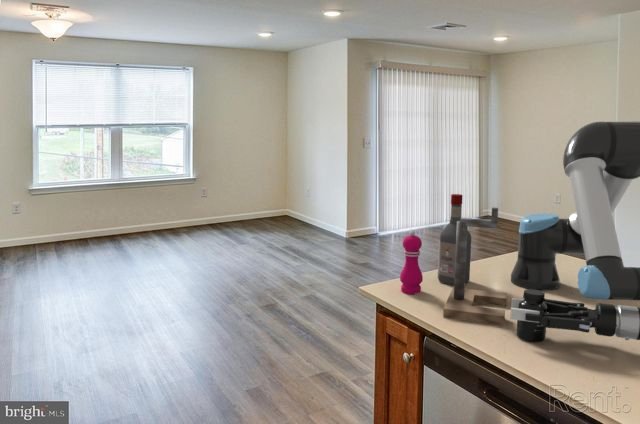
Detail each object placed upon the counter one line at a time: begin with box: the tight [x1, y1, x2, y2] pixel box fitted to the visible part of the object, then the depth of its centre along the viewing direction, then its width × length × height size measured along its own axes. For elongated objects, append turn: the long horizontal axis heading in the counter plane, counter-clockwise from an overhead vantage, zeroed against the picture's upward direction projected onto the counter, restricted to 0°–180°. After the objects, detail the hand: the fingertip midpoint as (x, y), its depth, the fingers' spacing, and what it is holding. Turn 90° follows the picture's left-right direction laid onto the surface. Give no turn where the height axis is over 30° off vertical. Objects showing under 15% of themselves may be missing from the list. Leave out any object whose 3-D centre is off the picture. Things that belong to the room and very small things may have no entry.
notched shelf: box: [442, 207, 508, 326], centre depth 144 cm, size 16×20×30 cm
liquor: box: [437, 193, 472, 287], centre depth 170 cm, size 9×9×30 cm
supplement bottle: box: [515, 288, 548, 343], centre depth 126 cm, size 7×7×12 cm
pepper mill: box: [399, 230, 424, 295], centre depth 161 cm, size 7×7×20 cm
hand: (511, 308), depth 127 cm, fingers closed on supplement bottle, 7 cm apart
